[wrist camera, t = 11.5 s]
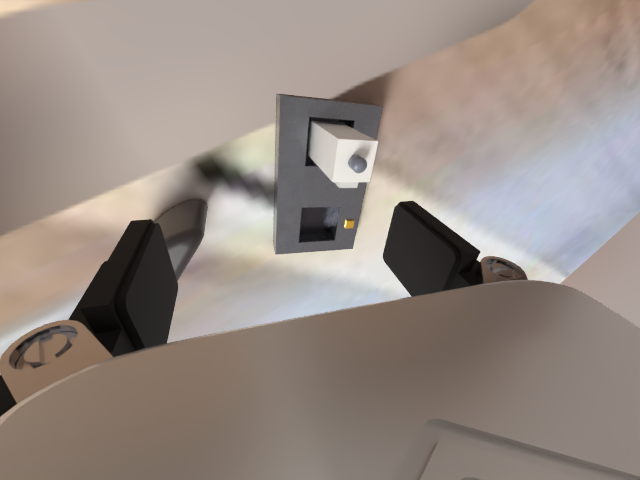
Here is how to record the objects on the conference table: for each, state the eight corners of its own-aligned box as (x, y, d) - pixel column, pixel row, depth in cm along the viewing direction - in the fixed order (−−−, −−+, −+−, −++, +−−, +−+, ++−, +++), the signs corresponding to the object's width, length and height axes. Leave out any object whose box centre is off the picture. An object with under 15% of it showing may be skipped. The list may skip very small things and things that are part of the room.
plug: (310, 120, 31) (343, 142, 22) (341, 122, 33) (384, 144, 24) (306, 160, 34) (335, 194, 25) (335, 161, 35) (373, 194, 26)
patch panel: (276, 93, 29) (280, 95, 27) (373, 103, 33) (384, 106, 30) (273, 244, 40) (275, 255, 37) (346, 240, 43) (353, 249, 41)
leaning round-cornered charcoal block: (173, 181, 31) (156, 218, 23) (211, 199, 33) (206, 238, 26) (121, 278, 36) (93, 336, 28) (158, 288, 38) (141, 344, 31)
